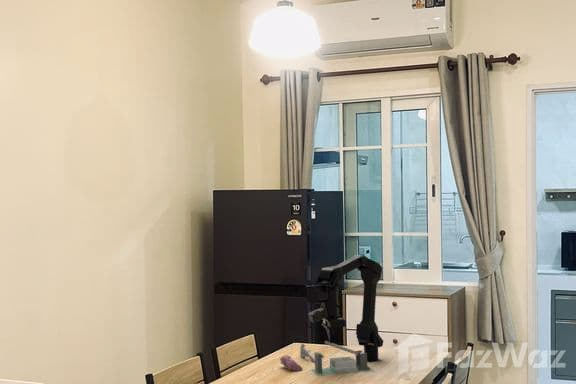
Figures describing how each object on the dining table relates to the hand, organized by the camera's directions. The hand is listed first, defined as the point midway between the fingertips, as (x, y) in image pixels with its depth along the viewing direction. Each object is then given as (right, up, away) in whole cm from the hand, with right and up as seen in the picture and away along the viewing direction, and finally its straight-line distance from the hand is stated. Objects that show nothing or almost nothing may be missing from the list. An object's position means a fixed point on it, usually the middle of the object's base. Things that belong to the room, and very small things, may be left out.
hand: (331, 342), depth 254 cm
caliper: (-7, -12, +18) cm, 23 cm away
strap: (+5, -3, +1) cm, 6 cm away
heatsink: (+4, -10, +1) cm, 11 cm away
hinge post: (+12, -10, +2) cm, 16 cm away
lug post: (-5, -11, -2) cm, 12 cm away
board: (+4, -11, +1) cm, 12 cm away
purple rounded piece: (-15, -12, +5) cm, 20 cm away
